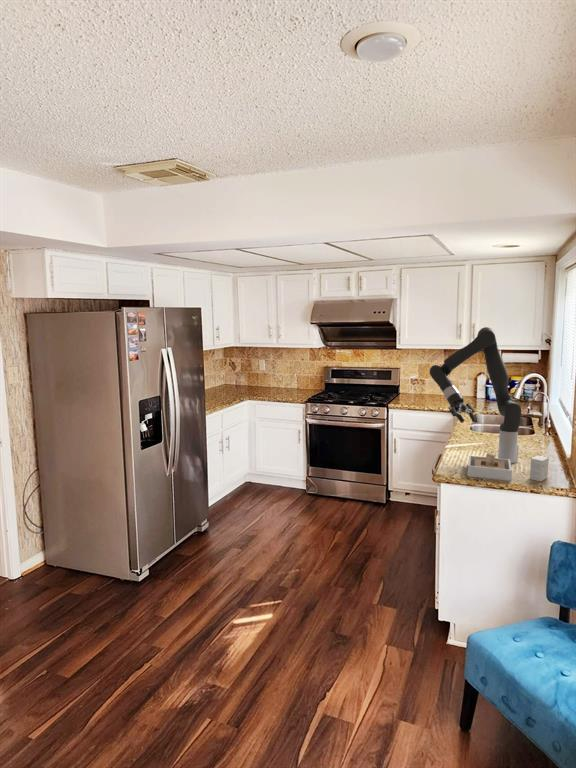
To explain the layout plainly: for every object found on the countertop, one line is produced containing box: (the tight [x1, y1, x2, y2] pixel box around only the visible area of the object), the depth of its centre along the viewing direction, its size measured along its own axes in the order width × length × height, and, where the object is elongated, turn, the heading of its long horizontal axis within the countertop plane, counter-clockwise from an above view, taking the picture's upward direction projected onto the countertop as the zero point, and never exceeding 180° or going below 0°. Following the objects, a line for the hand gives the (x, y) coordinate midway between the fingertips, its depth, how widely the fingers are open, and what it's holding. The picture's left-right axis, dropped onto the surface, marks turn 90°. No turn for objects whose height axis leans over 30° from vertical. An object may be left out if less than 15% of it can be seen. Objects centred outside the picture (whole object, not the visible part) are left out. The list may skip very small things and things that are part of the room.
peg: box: [485, 453, 496, 466], centre depth 262 cm, size 4×4×9 cm
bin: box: [466, 455, 513, 482], centre depth 262 cm, size 20×20×6 cm
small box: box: [529, 455, 549, 482], centre depth 253 cm, size 8×6×10 cm
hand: (468, 421), depth 270 cm, fingers open, 8 cm apart
